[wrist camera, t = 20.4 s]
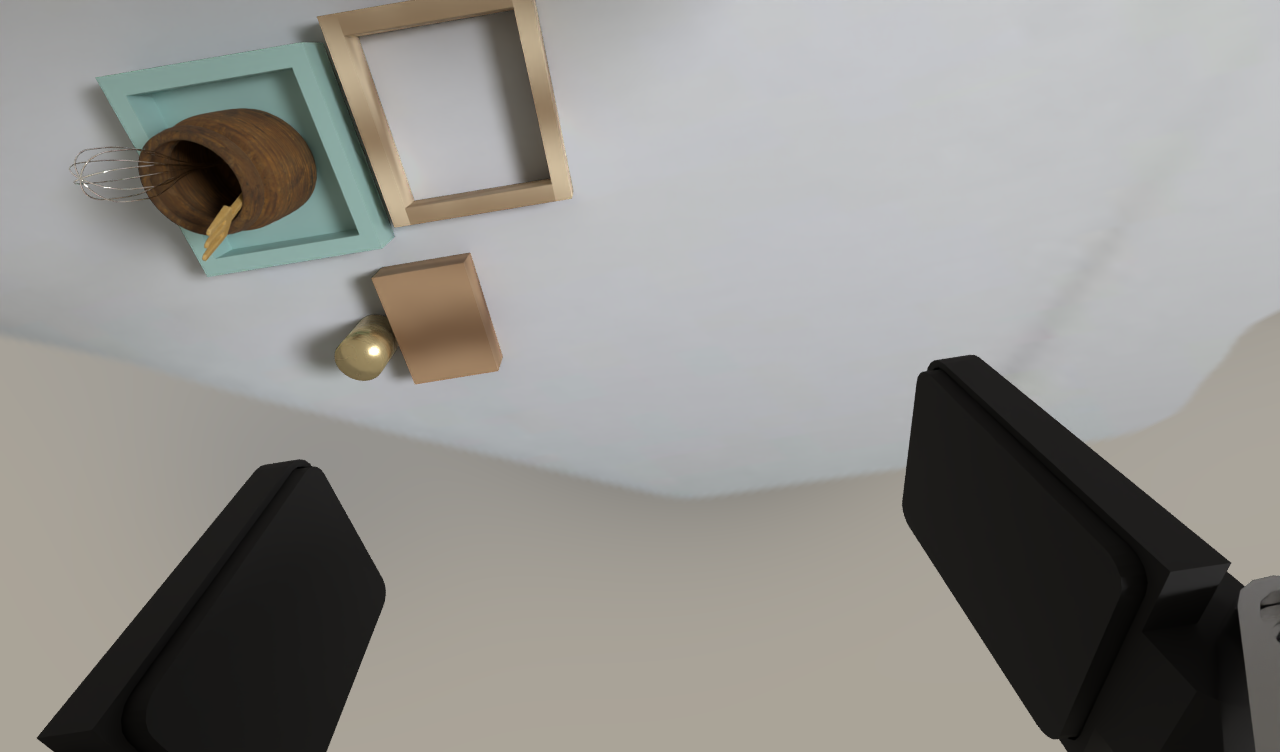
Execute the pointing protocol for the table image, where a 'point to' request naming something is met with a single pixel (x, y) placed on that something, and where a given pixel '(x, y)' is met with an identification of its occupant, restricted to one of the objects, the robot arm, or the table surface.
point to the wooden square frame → (341, 33)
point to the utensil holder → (223, 172)
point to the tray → (301, 97)
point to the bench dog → (367, 348)
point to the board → (439, 318)
